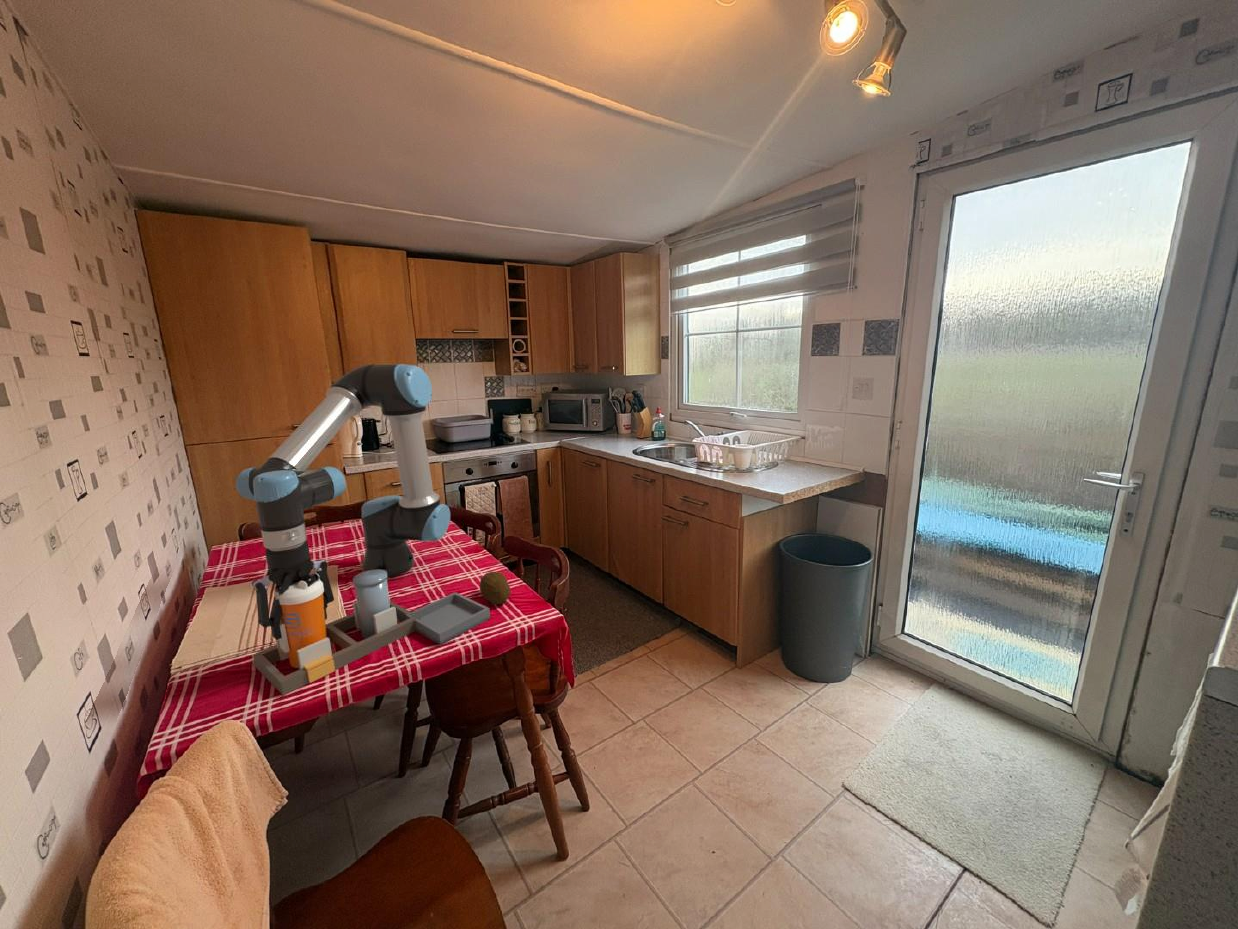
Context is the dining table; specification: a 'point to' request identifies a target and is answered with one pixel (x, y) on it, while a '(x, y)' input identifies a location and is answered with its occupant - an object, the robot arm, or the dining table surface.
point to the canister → (371, 598)
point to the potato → (495, 587)
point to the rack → (319, 655)
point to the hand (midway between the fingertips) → (303, 641)
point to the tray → (449, 617)
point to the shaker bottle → (303, 614)
